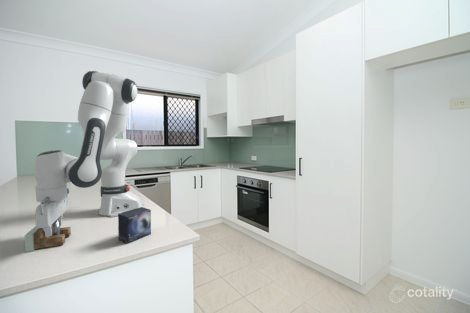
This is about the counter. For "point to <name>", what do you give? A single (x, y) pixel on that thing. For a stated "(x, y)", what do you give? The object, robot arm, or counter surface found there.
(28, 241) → the wall
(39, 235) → the block
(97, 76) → the robot arm
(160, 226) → the counter surface
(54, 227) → the dowel
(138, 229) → the small box
